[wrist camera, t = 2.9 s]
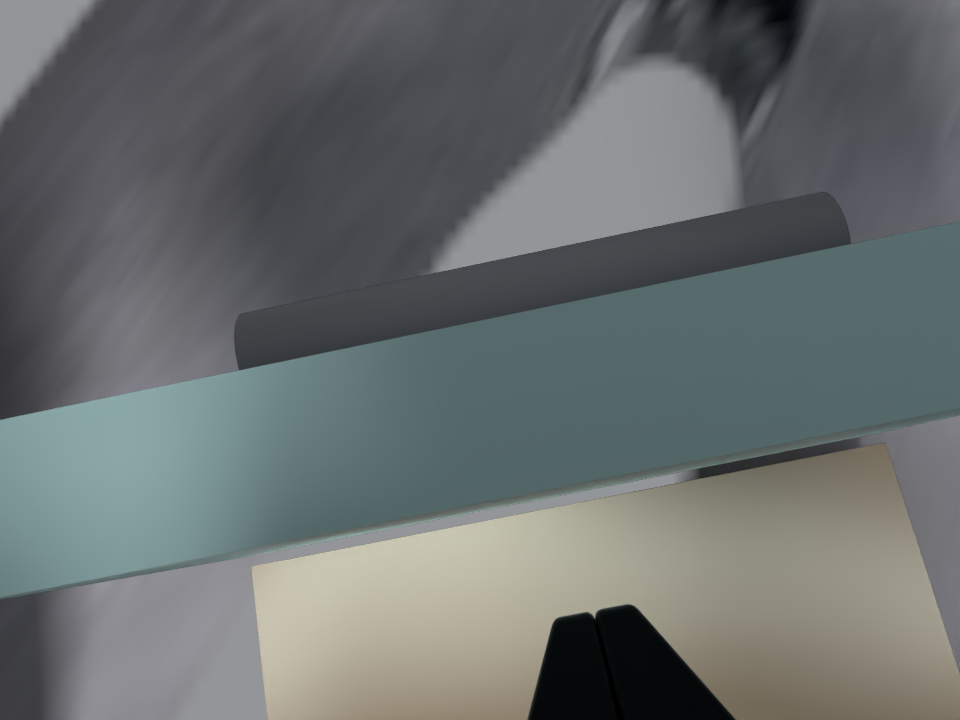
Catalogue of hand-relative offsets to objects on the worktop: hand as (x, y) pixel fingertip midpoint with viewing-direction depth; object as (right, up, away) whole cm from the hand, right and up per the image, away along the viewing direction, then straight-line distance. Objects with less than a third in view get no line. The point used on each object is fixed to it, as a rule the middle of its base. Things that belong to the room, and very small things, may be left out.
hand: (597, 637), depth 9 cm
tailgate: (0, +1, +8) cm, 8 cm away
